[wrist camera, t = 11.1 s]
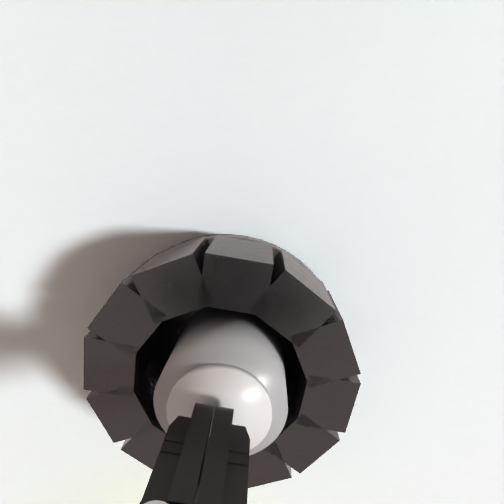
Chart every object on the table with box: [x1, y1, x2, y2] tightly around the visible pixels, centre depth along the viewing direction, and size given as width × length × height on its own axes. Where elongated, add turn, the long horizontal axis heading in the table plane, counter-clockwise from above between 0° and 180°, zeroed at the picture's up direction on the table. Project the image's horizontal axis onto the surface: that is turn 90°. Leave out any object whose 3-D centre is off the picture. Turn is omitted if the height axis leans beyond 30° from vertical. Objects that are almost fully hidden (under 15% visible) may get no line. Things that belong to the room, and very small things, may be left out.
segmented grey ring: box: [84, 234, 361, 488], centre depth 15 cm, size 12×12×4 cm
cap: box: [153, 307, 288, 456], centre depth 14 cm, size 6×6×4 cm
